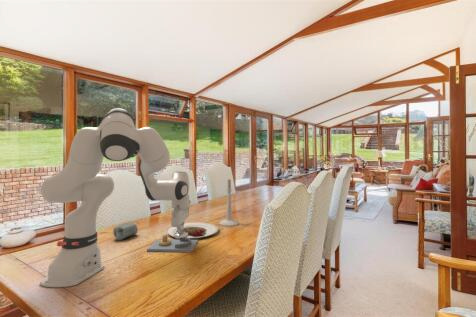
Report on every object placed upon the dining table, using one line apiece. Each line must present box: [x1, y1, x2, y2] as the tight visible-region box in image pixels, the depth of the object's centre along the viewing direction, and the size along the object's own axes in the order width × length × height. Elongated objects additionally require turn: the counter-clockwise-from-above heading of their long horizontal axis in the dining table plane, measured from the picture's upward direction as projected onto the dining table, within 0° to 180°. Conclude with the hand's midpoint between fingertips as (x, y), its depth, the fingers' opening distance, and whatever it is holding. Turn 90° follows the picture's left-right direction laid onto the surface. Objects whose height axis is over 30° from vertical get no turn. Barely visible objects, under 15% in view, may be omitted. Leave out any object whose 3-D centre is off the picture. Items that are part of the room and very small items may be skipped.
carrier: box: [146, 233, 199, 253], centre depth 133 cm, size 14×22×6 cm, turn 88°
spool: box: [112, 221, 138, 241], centre depth 147 cm, size 14×10×10 cm
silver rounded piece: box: [173, 224, 188, 240], centre depth 132 cm, size 7×7×6 cm
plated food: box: [167, 222, 219, 240], centre depth 157 cm, size 30×30×3 cm
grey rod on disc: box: [219, 178, 240, 227], centre depth 174 cm, size 13×13×30 cm
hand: (180, 230), depth 132 cm, fingers closed on silver rounded piece, 3 cm apart
